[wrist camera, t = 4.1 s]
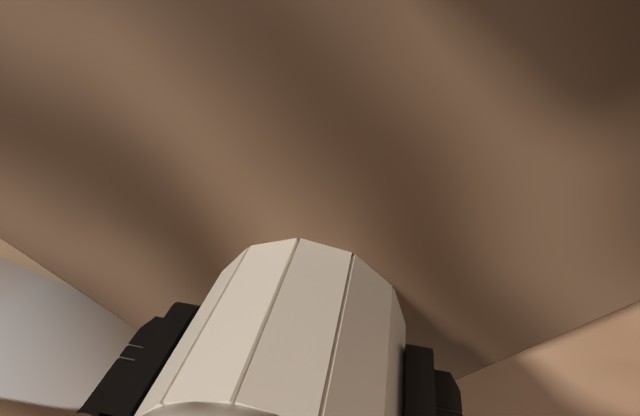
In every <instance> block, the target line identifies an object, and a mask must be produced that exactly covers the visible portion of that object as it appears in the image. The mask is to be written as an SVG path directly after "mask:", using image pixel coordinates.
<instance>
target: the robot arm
mask: <svg viewBox="0 0 640 416" xmlns="http://www.w3.org/2000/svg"><path fill="white" fill-rule="evenodd" d="M200 307H201V306H199V305H193V304H188V303H182V302H175V303H174V304H173V305H172V306H171V308H170V309H169V311H168V312H167V313H166V315H165V316H164V318H163V317H157V316H155V317H154V318H153V319H151V320H150V321H149V322H147V323H146V324H145V325H143V326H142V327H141V328H140V329H139V330H138V331H137V333H136V334H135V335H134V337H133V338H132V339H131V341H130V342H129V345H128V346H127V347H126V348H125V349H124V351H123V352H122V353H121V354H120V357H119V359H117V360H116V361H115V363H114V364H113V365H112V367H111V368H110V369H109V371H108V372H107V374H106V375H105V376H104V378H103V379H102V381H101V382H100V383H99V384H98V386H97V387H96V389H95V390H94V391H93V393H92V394H91V395H90V397H89V398H88V400H87V401H86V402H85V403H84V405H83V406H82V407H81V408H80V410H79V411H78V412H76V413H75V414H71V415H68V416H134V415H135V414H136V412H137V410H138V409H139V407H140V405H141V404H142V402H143V400H144V399H145V397H146V395H147V394H148V392H149V391H150V389H151V387H152V386H153V384H154V382H155V381H156V379H157V377H158V376H159V374H160V372H161V371H162V369H163V368H164V366H165V364H166V363H167V361H168V359H169V358H170V356H171V354H172V353H173V351H174V349H175V348H176V346H177V345H178V343H179V341H180V340H181V338H182V336H183V335H184V333H185V331H186V330H187V328H188V326H189V325H190V323H191V322H192V320H193V318H194V317H195V315H196V313H197V312H198V310H199V308H200ZM402 416H463V415H462V405H461V395H460V390H459V388H458V386H457V384H456V382H455V380H454V378H453V376H452V375H451V373H450V372H446V371H441V370H435V369H434V354H433V349H432V348H427V347H422V346H416V345H411V344H406V345H405V349H404V370H403V411H402Z"/></svg>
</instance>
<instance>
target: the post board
mask: <svg viewBox="0 0 640 416" xmlns="http://www.w3.org/2000/svg"><path fill="white" fill-rule="evenodd" d="M0 238H1V239H2V240H4V241H5V242H7V243H8V244H10V245H11V246H13V247H14V248H16V249H17V250H19V251H20V252H22V253H23V254H25V255H26V256H28V257H29V258H31V259H32V260H34V261H35V262H37V263H38V264H40V265H41V266H43V267H44V268H46V269H47V270H49V271H50V272H52V273H53V274H55V275H56V276H58V277H59V278H61V279H62V280H63V281H65V282H66V283H68V284H69V285H71V286H72V287H74V288H75V289H77V290H78V291H80V292H81V293H83V294H84V295H86V296H87V297H89V298H90V299H92V300H93V301H95V302H96V303H98V304H99V305H101V306H102V307H104V308H105V309H107V310H108V311H110V312H111V313H113V314H114V315H116V316H117V317H119V318H120V319H122V320H123V321H125V322H126V323H127V324H129V325H131V326H132V327H133V328H135V329H136V330H139V329H140V328H141V327H142V326H143V325H145V324H146V323H147V322H149V321H150V320H151V319H153V318H154V317H155V316H157V317H163V318H164V316H165V315H166V313H167V312H168V311H169V309H170V308H171V306H172V305H173V304H174V303H175V302H182V303H188V304H193V305H199V306H201V305H202V303H203V302H204V300H205V299H206V297H207V295H208V294H209V292H210V290H211V289H212V287H213V285H214V284H215V282H216V280H217V279H218V277H219V276H220V274H221V272H222V271H223V270H224V269H225V268H226V267H227V266H228V265H229V264H230V263H232V262H233V261H234V260H235V259H236V258H237V257H238V256H239V255H240V254H241V253H242V252H243V251H244V250H245V249H246V248H248V247H249V248H250V246H251V245H257V244H263V243H269V242H275V241H281V240H287V239H293V238H297V239H298V241H300V238H302V239H306V240H309V241H313V242H316V243H320V244H323V245H327V246H330V247H334V248H338V249H341V250H345V251H348V252H352V255H351V257H352V256H353V255H355V254H356V255H357V256H358V257H359V258H360V259H361V260H363V261H364V262H365V263H366V264H367V265H369V266H370V267H371V268H372V269H373V270H374V271H376V272H377V273H378V274H379V275H380V276H382V277H383V278H384V279H385V280H386V281H387V282H389V283H390V284H391V285H392V288H394V289H395V292H396V295H397V299H398V302H399V305H400V308H401V311H402V314H403V318H404V321H405V324H406V334H405V345H406V344H411V345H416V346H422V347H427V348H432V349H433V354H434V369H435V370H441V371H446V372H450V373H451V375H452V376H453V378H454V380H456V379H458V378H461V377H463V376H465V375H468V374H470V373H472V372H475V371H477V370H479V369H482V368H484V367H486V366H489V365H491V364H493V363H495V362H498V361H500V360H502V359H505V358H507V357H509V356H512V355H514V354H516V353H519V352H521V351H523V350H526V349H528V348H530V347H533V346H535V345H537V344H540V343H542V342H544V341H547V340H549V339H551V338H553V337H556V336H558V335H560V334H563V333H565V332H567V331H570V330H572V329H574V328H577V327H579V326H581V325H584V324H586V323H588V322H591V321H593V320H595V319H598V318H600V317H602V316H604V315H607V314H609V313H611V312H614V311H616V310H618V309H621V308H623V307H625V306H628V305H630V304H632V303H635V302H637V301H639V300H640V0H0Z"/></svg>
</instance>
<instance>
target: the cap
mask: <svg viewBox="0 0 640 416" xmlns="http://www.w3.org/2000/svg"><path fill="white" fill-rule="evenodd" d="M351 255H352V252H348V251H345V250H341V249H338V248H334V247H330V246H327V245H323V244H320V243H316V242H313V241H309V240H306V239H302V238H300V241H298V239H297V238H293V239H287V240H281V241H275V242H269V243H263V244H257V245H251V246H250V248H249V247H248V248H246V249H245V250H244V251H243V252H242V253H241V254H240V255H239V256H238V257H237V258H236V259H235V260H234V261H233V262H232V263H230V264H229V265H228V266H227V267H226V268H225V269H224V270H223V271H222V272H221V274H220V276H219V277H218V279H217V280H216V282H215V284H214V285H213V287H212V289H211V290H210V292H209V294H208V295H207V297H206V299H205V300H204V302H203V303H202V305H201V307H200V308H199V310H198V312H197V313H196V315H195V317H194V318H193V320H192V322H191V323H190V325H189V326H188V328H187V330H186V331H185V333H184V335H183V336H182V338H181V340H180V341H179V343H178V345H177V346H176V348H175V349H174V351H173V353H172V354H171V356H170V358H169V359H168V361H167V363H166V364H165V366H164V368H163V369H162V371H161V372H160V374H159V376H158V377H157V379H156V381H155V382H154V384H153V386H152V387H151V389H150V391H149V392H148V394H147V395H146V397H145V399H144V400H143V402H142V404H141V405H140V407H139V409H138V410H137V412H136V414H135V415H134V416H402V411H403V370H404V349H405V334H406V324H405V321H404V318H403V314H402V311H401V308H400V305H399V302H398V299H397V295H396V292H395V289H394V288H392V285H391V284H390V283H389V282H387V281H386V280H385V279H384V278H383V277H382V276H380V275H379V274H378V273H377V272H376V271H374V270H373V269H372V268H371V267H370V266H369V265H367V264H366V263H365V262H364V261H363V260H361V259H360V258H359V257H358V256H357V255H356V254H355V255H353V256H352V257H351Z"/></svg>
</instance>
